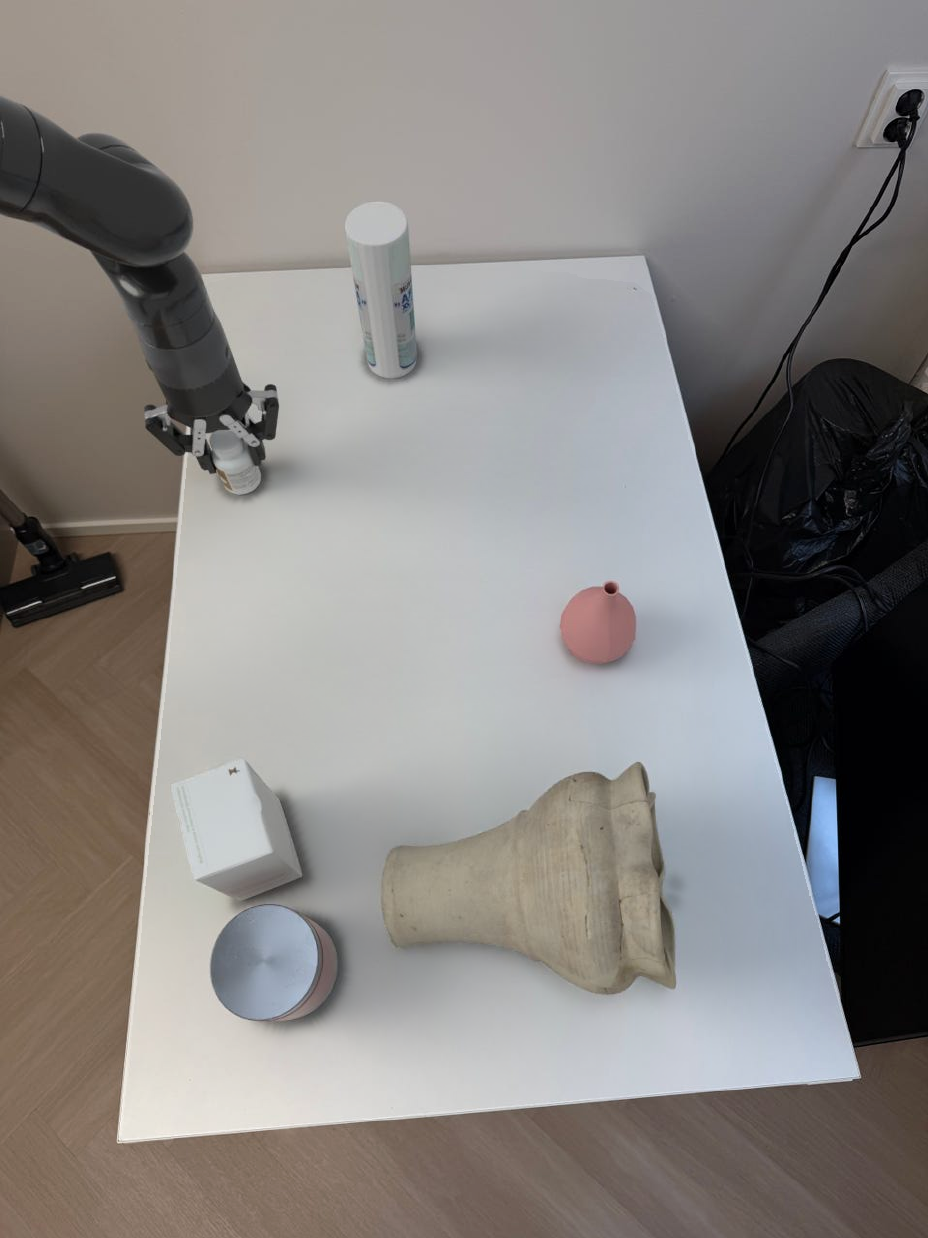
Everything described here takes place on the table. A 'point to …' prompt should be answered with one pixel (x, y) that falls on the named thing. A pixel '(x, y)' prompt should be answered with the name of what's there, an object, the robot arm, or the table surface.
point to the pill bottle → (234, 462)
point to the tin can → (273, 964)
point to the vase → (549, 886)
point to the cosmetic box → (235, 831)
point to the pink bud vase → (598, 624)
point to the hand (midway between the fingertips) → (235, 462)
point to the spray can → (383, 286)
